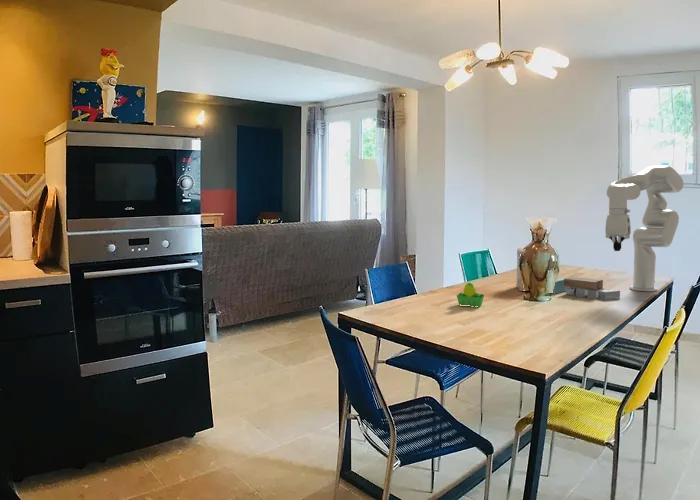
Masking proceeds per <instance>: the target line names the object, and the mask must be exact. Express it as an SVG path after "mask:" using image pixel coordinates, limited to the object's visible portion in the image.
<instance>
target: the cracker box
mask: <svg viewBox="0 0 700 500" xmlns="http://www.w3.org/2000/svg"><path fill="white" fill-rule="evenodd" d="M523 249H524V248H523V247H522V248H521V247H520V248H517V250H516V251H517V252H516V253H517V254H516V255H517V257H516V284H515V285H516V286H515V287H516V288H517V290H518V292H522V291H523V290H524V288H523V283H522V278H521V274H520V270H519V257H520V254H521V252H522V250H523Z"/></svg>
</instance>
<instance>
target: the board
mask: <svg viewBox="0 0 700 500" xmlns="http://www.w3.org/2000/svg"><path fill="white" fill-rule="evenodd" d="M563 278H564V287H571V288H579V289H587V290H598V289H601V288H604V287H603V286H604V285H603V284H604V279H599V278H592V277H582V276H581V277H580V276H573V275H572V276H569V277H563Z"/></svg>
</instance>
